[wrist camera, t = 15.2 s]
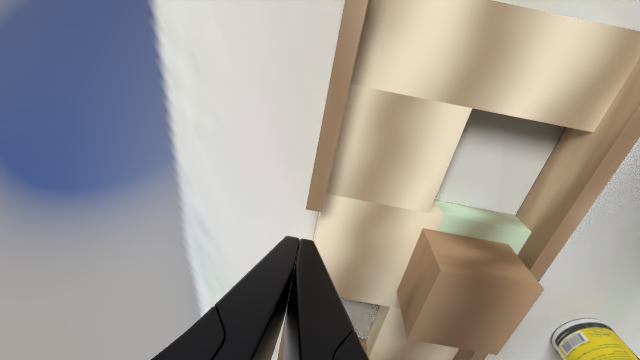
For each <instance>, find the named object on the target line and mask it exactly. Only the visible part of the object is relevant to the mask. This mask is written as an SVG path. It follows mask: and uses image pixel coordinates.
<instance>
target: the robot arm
mask: <svg viewBox="0 0 640 360" xmlns="http://www.w3.org/2000/svg"><path fill="white" fill-rule="evenodd" d="M298 246H299V247H298ZM297 251H298V252H297ZM296 256H297V257H296ZM295 262H296V263H295ZM294 267H295V268H294ZM293 272H294V273H293ZM292 278H293V279H292ZM291 283H292V284H291ZM290 288H291V289H290ZM289 293H290V294H289ZM288 299H289V300H288ZM287 304H288V305H287ZM286 309H287V311H286ZM285 313H286V320H285V335H284V351H283V360H369V358H368V356H367V354H366V352H365V350H364V348H363V346H362V344H361V342H360V340H359V338H358V336H357V333H356V332H355V331H354V327H353V325H352V323H351V321H350V318H349V316H348V314H347V312H346V310H345V308H344V305H343V303H342V301H341V299H340V297H339V295H338V292H337V290H336V288H335V286H334V284H333V282H332V279H331V277H330V275H329V273H328V271H327V269H326V266H325V264H324V262H323V260H322V258H321V256H320V253H319V251H318V249H317V247H316V245H315V243H314V241H312V240H307V239H300V242H299V238H296V237H291V236H286V237H285V238H284V239H282V240H281V241H280V242H279V243H278V244H277V245H276V246H275V247H274V248H273V249H272V250H271V251H270V252H269V253H268V254H267V255H266V256H265V257H264V258H263V259H262V260H261V261H260V262H259V263H258V264H257V265H256V266H254V267H253V268H252V269H251V270H250V271H249V272H248V273H247V274H246V275H245V276H244V277H243V278H242V279H241V280H240V281H239V282H238V283H237V284H236V285H235V286H234V287H233V288H232V289H231V290H230V291H229V292H228V293H227V294H225V295H224V296H223V297H222V298H221V299H220V300H219V301H218V302H217V303H216V304H215V307H212V308H211V309H210V310H209V311H208V312H207V313H206V314H205V315H204V316H203V317H201V318H200V319H199V320H198V321H197V322H196V323H195V324H194V325H193V326H192V327H191V328H189V329H188V330H187V331H186V332H185V333H184V334H182V335H181V336H180V337H179V338H178V339H176V340H175V341H174V342H173V343H171V344H170V345H169V346H168V347H166V348H165V349H164V350H163V351H161V352H160V353H159V354H158V355H156V356H155V357H154V358H152V359H151V360H271V358H272V355H273V352H274V349H275V345H276V342H277V339H278V336H279V333H280V330H281V327H282V324H283V320H284V317H285Z"/></svg>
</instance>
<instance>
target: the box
mask: <svg viewBox="0 0 640 360" xmlns="http://www.w3.org/2000/svg"><path fill="white" fill-rule="evenodd" d="M472 108H473V109H478V110H483V111H488V112H493V113H499V114H504V115H509V116H514V117H519V118H524V119H529V120H534V121H539V122H544V123H549V124H554V125H559V126H564V127H566V129H565V130H564V132H563V134H562V136H561V137H560V139H559V141H558V143H557V144H556V146H555V148H554V150H553V151H552V153H551V155H550V157H549V158H548V160H547V162H546V164H545V165H544V167H543V169H542V171H541V172H540V174H539V176H538V178H537V179H536V181H535V183H534V185H533V186H532V188H531V190H530V192H529V193H528V195H527V197H526V199H525V200H524V202H523V204H522V206H521V207H520V209H519V211H518V213H517V214H516V216H515V215H510V214H504V213H499V212H494V211H489V210H483V209H478V208H473V207H467V206H462V205H457V204H452V203H446V202H441V201H436V200H435V197H436V195H437V193H438V190H439V188H440V185H441V183H442V181H443V178H444V176H445V173H446V171H447V168H448V166H449V164H450V161H451V159H452V156H453V154H454V151H455V149H456V147H457V144H458V142H459V139H460V137H461V135H462V132H463V130H464V127H465V125H466V122H467V120H468V118H469V115H470V113H471V110H472ZM639 137H640V32H639V31H635V30H630V29H625V28H620V27H616V26H611V25H606V24H601V23H597V22H592V21H587V20H582V19H577V18H573V17H568V16H563V15H558V14H554V13H549V12H544V11H539V10H535V9H530V8H525V7H520V6H515V5H511V4H506V3H501V2H496V1H492V0H345V5H344V10H343V15H342V20H341V26H340V31H339V36H338V42H337V47H336V52H335V57H334V63H333V68H332V73H331V79H330V84H329V89H328V95H327V100H326V105H325V110H324V116H323V121H322V126H321V132H320V137H319V142H318V147H317V153H316V158H315V163H314V169H313V174H312V179H311V185H310V190H309V195H308V200H307V206H306V209H307V210H312V211H318V212H319V214H318V218H317V223H316V228H315V232H314V237H313V241H314V243H315V245H316V247H317V249H318V251H319V253H320V256H321V258H322V260H323V262H324V264H325V266H326V269H327V271H328V273H329V275H330V277H331V279H332V282H333V284H334V286H335V288H336V290H337V292H338V295H339V297H340V298H343V299H348V300H354V301H360V302H365V303H371V304H376V305H380V306H379V309H378V311H377V314H376V316H375V319H374V321H373V324H372V327H371V329H370V332H369V334H368V337H367V339H366V340H364V339H359V340H360V342H361V344H362V346H363V348H364V350H365V352H366V354H367V356H368V358H369V360H484V359H485V358H486V356H487V355H488V353H483V352H477V351H471V350H466V349H460V348H454V347H449V346H443V345H437V344H432V343H426V342H420V341H415V340H409V339H407V336H406V331H405V327H404V322H403V318H402V313H401V309H400V304H399V299H398V295H397V289H398V287H399V284H400V282H401V280H402V277H403V275H404V272H405V270H406V267H407V265H408V263H409V260H410V258H411V255H412V253H413V251H414V248H415V246H416V243H417V241H418V239H419V236H420V234H421V231H422V229H423V228H425V229H430V230H435V231H441V232H446V233H451V234H457V235H462V236H468V237H473V238H478V239H484V240H489V241H494V242H500V243H505V244H509V246H510V247H511V248H512V249H513V251H514V252H515V253H516V254H517V256H518V257H519V258H520V259H521V261H522V262H523V263H524V265H525V266H526V267H527V268H528V270H529V271H530V272H531V273H532V275H533V276H534V277H535V278H536V280H537V281H538V282H539V280H540V279H541V278H542V276H543V275H544V273H545V272H546V270H547V269H548V267H549V266H550V265H551V263H552V262H553V260H554V259H555V257H556V256H557V255H558V253H559V252H560V250H561V249H562V247H563V246H564V245H565V243H566V242H567V240H568V239H569V237H570V236H571V235H572V233H573V232H574V230H575V229H576V227H577V226H578V225H579V223H580V222H581V220H582V219H583V217H584V216H585V215H586V213H587V212H588V210H589V209H590V207H591V206H592V204H593V203H594V202H595V200H596V199H597V197H598V196H599V194H600V193H601V192H602V190H603V189H604V187H605V186H606V184H607V183H608V182H609V180H610V179H611V177H612V176H613V174H614V173H615V172H616V170H617V169H618V167H619V166H620V164H621V163H622V162H623V160H624V159H625V157H626V156H627V154H628V153H629V152H630V150H631V149H632V147H633V146H634V144H635V143H636V141H637V140H638V139H639ZM285 320H286V317H285ZM284 335H285V322H284V327H283V333H282V338H281V343H280V349H279V354H278V359H277V360H283V351H284Z"/></svg>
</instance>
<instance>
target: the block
mask: <svg viewBox="0 0 640 360" xmlns="http://www.w3.org/2000/svg"><path fill="white" fill-rule="evenodd" d="M543 290H544V289H543V287H542V286H541V285H540V283H539V282H538V281H537V280H536V278H535V277H534V276H533V275H532V273H531V272H530V271H529V270H528V268H527V267H526V266H525V265H524V263H523V262H522V261H521V259H520V258H519V257H518V256H517V254H516V253H515V252H514V251H513V249H512V248H511V247H510V246H509V244H505V243H500V242H494V241H489V240H484V239H478V238H473V237H468V236H462V235H457V234H451V233H446V232H441V231H435V230H430V229H425V228H423V229H422V231H421V234H420V236H419V239H418V241H417V243H416V246H415V248H414V251H413V253H412V255H411V258H410V260H409V263H408V265H407V267H406V270H405V272H404V275H403V277H402V280H401V282H400V284H399V287H398V289H397V295H398V299H399V304H400V309H401V313H402V318H403V322H404V327H405V331H406V336H407V339H409V340H415V341H420V342H426V343H432V344H437V345H443V346H449V347H454V348H460V349H466V350H471V351H477V352H483V353H489V354H494V355H497V354H498V353H499V351H500V350H501V348H502V347H503V346H504V344H505V343H506V342H507V340H508V339H509V337H510V336H511V335H512V333H513V332H514V331H515V329H516V328H517V326H518V325H519V324H520V322H521V321H522V319H523V318H524V317H525V315H526V314H527V313H528V311H529V310H530V308H531V307H532V306H533V304H534V303H535V301H536V300H537V299H538V297H539V296H540V295H541V293H542V292H543Z"/></svg>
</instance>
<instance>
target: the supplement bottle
mask: <svg viewBox="0 0 640 360" xmlns="http://www.w3.org/2000/svg"><path fill="white" fill-rule="evenodd" d="M552 344H553V347H554V348H555V350H556V352H557V353H558V355H559V356H560V357H561V359H562V360H640V359H639V358H638V357H637V356H636V355H635V354H634V353H633V352H632V351H631V349H630V348H629V347H628V346H627V345H626V344H625V343H624V342H623V341H622V340H621V339H620V338H619V337H618V335H617V334H616V333H615V332H614V331H613V330H612V329H611V328H610V327H609V326H608V325H607V324H606V323H604V322H602V321H600V320H597V319H590V318H586V319H578V320H574V321H571V322H568V323H566V324H564V325H562V326H561V327H559V328H558V329H557V330H556V331H555V333H554V335H553V337H552Z"/></svg>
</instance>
